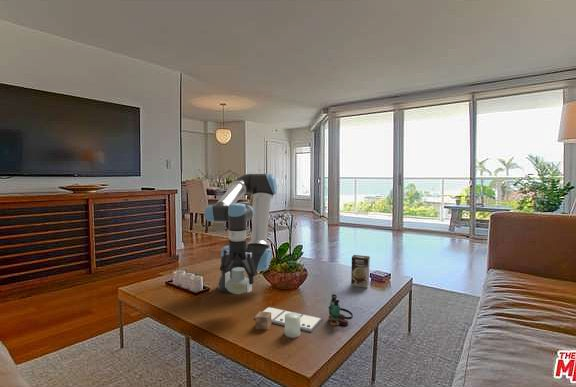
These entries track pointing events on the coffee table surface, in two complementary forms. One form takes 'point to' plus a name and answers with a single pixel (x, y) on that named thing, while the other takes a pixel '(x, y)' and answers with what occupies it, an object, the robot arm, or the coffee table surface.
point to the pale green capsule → (292, 325)
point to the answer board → (278, 315)
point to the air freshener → (237, 281)
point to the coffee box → (360, 271)
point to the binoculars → (337, 312)
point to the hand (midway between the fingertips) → (238, 288)
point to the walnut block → (263, 320)
